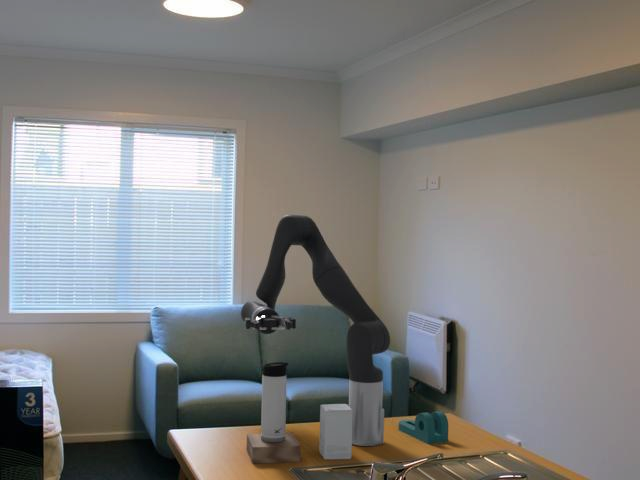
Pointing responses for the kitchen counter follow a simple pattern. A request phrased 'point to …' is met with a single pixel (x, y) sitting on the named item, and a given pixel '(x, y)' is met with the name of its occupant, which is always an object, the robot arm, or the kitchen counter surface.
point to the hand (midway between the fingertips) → (273, 326)
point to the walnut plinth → (273, 449)
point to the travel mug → (273, 402)
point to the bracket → (427, 427)
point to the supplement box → (335, 431)
